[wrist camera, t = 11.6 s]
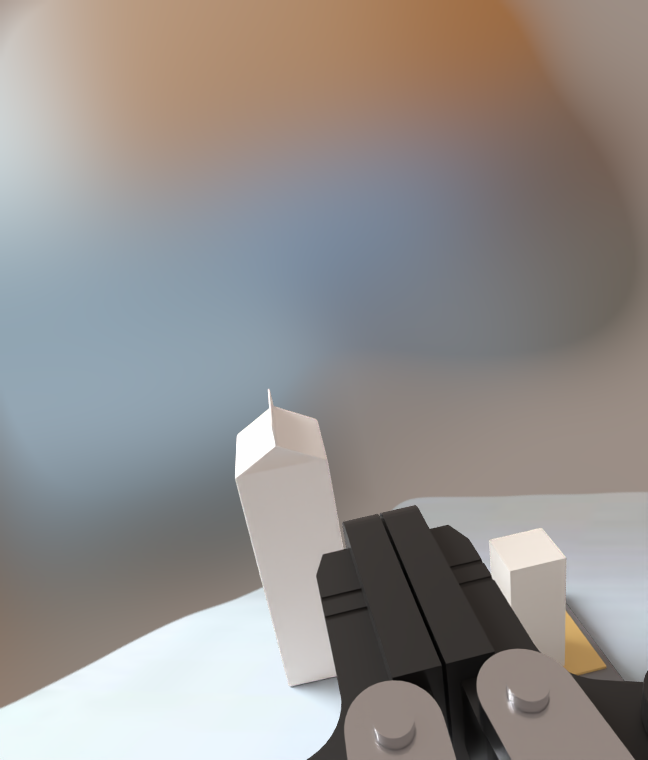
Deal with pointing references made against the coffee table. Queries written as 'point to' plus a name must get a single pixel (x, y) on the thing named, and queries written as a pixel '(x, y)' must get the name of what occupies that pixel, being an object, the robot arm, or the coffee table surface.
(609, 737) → the robot arm
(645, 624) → the coffee table surface
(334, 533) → the milk
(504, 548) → the block
